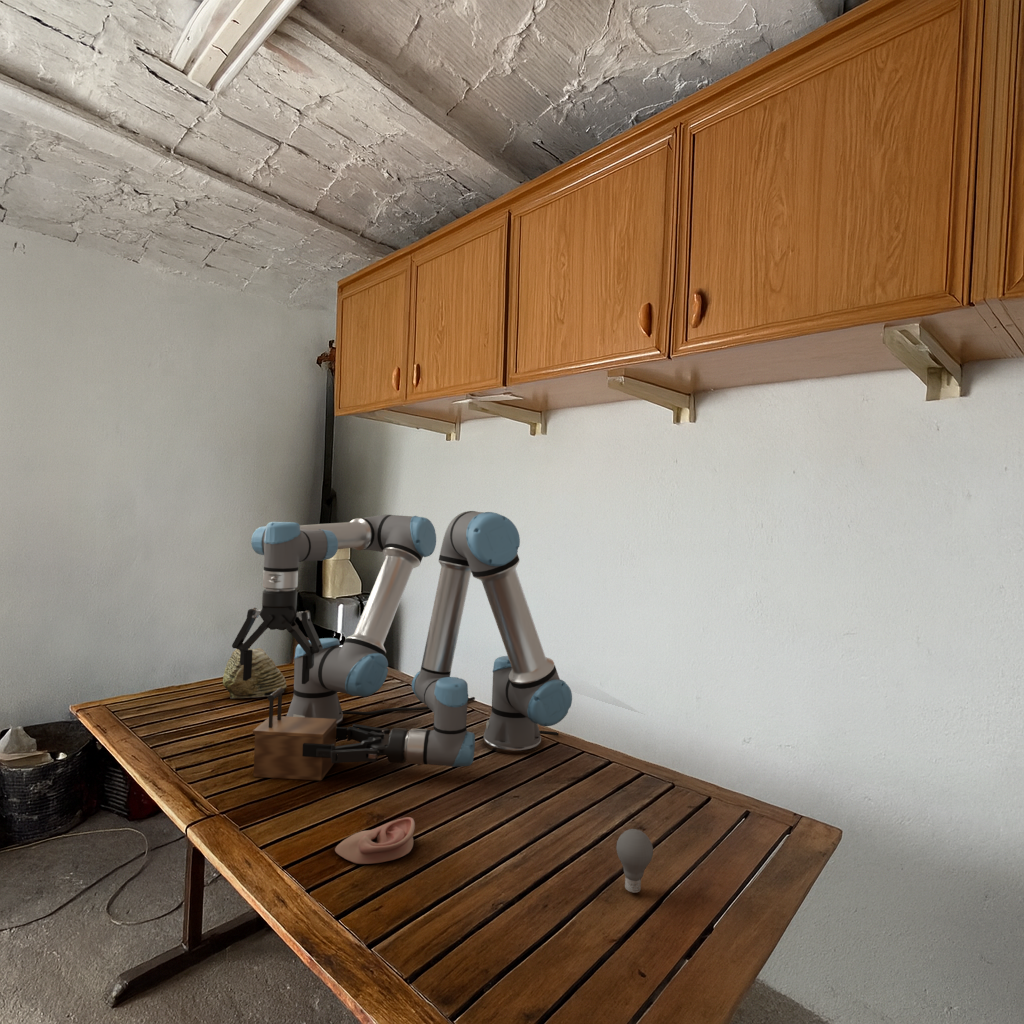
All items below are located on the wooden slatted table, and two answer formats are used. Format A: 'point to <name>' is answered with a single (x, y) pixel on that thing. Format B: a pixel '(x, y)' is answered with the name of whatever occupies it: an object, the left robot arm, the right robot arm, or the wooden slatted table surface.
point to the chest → (290, 757)
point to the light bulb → (634, 857)
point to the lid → (292, 722)
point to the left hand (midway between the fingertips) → (276, 680)
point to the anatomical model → (379, 843)
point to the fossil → (253, 676)
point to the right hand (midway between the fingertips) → (311, 740)
